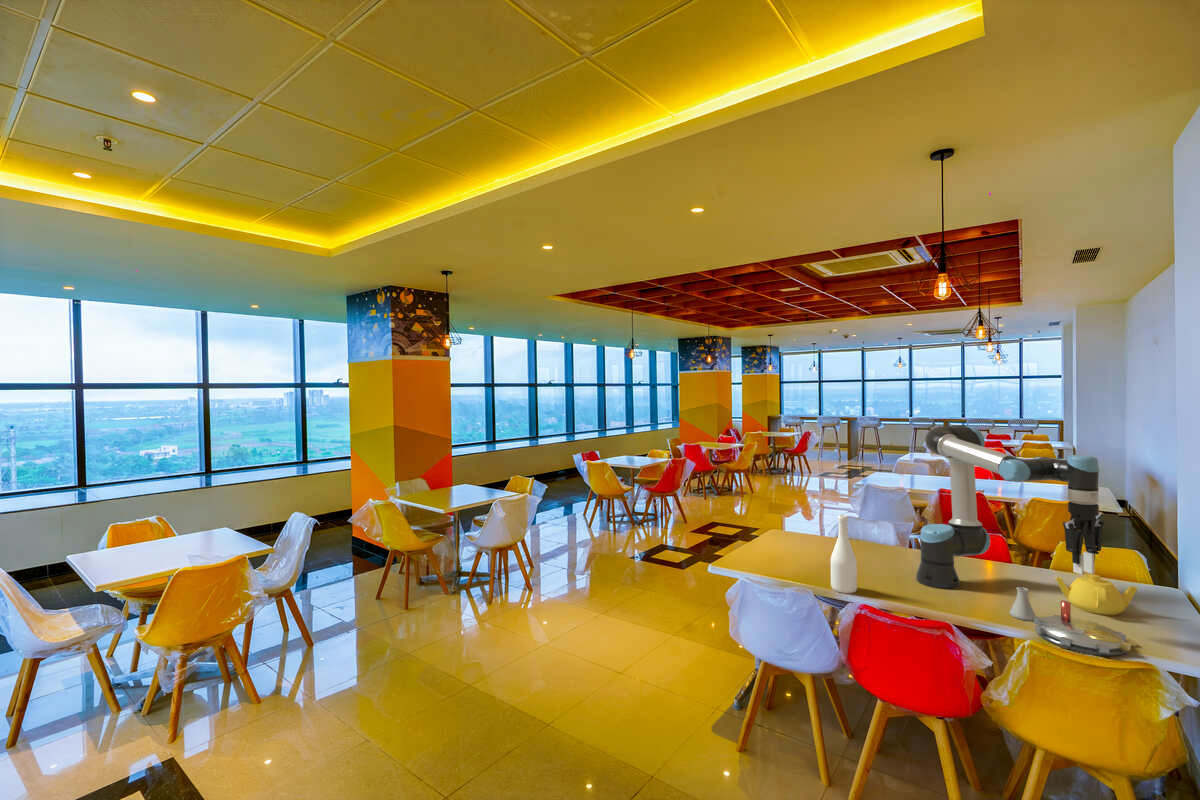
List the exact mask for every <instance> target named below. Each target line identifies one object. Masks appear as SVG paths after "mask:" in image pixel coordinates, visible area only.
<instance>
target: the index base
mask: <svg viewBox="0 0 1200 800" xmlns="http://www.w3.org/2000/svg"><path fill="white" fill-rule="evenodd" d="M1036 634H1037V635H1038V636H1039V637H1040V638H1042V639H1043V640H1044V641H1047V642H1048V643H1051V644H1053V645H1055V646H1058V647H1059V648H1060V647H1061V648H1063V649H1066V650H1069V651H1072V652H1073V651H1074V652H1076V653H1082V654H1084V655H1085V654H1086V655H1091V656H1099V657H1113V658H1114V657H1121V656H1123V655H1126V654H1127V651H1125V650H1119V651H1109V653H1100V652H1098V651H1096V650H1089V649H1084V648H1080V647H1075V646H1067V645H1064V644H1060V642H1059V641H1057V640H1054V639H1052V638H1050V637H1048V636H1046V635H1045V634H1039V633H1038V632H1036ZM1124 642H1128V643H1131V647H1134V648H1135V647H1136V648H1137V647H1138V642H1136V641H1135V640H1133V639H1132V638H1129V637H1126V641H1124Z"/></svg>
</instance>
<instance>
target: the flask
mask: <svg viewBox="0 0 1200 800" xmlns="http://www.w3.org/2000/svg"><path fill="white" fill-rule="evenodd" d="M1015 589H1016V590H1017V593H1016V598H1015V600H1014V603H1013V605H1012V606H1011V608H1010V610H1009V612H1008V614H1009V615H1010V616H1011V617H1013V618H1014V619H1015V618H1016V619H1019V620H1022V621H1029V622H1030V621H1031V622H1034V618H1035V617H1037V616H1036V613H1035V612H1034V609H1033V607H1032V605H1031V602H1030V600H1029V595H1028V594H1029V593H1028V592H1029V591H1030V590H1029V589H1028V588H1026V587H1021V586H1018V587H1016V588H1015Z"/></svg>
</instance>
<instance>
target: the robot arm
mask: <svg viewBox="0 0 1200 800" xmlns="http://www.w3.org/2000/svg"><path fill="white" fill-rule="evenodd" d="M985 444H986V441H985V438H984V435H983V433H982V432H981V431H980V430H979V429H978V428H977V427H974V426H972V425H963V424H962V425H946V426H945V425H941V426H936V427H933V428H931V429H930V430H928V432H927V433H926V436H925V445H926V447H927V449H928V450H929V451H930V452H932V453H934V454H936V455H939V456H941V457H944V458H945V459H946V460H947V461H948V462H949V474H950V475H949V476H950V492H951V493H950V496H951V513H952V516H951V517H952V518H951V519H950V520H948V524H945V523H938V524H937V523H931V524H930V523H929V524H926V525H923V526H922V527H921V529H920V536H919V538H920V563H919V566H918V568H917V571H916V574H915V575H916V576H915V577H916V578H915V579H916V581H917V582H918V583H920V584H923V585H924V586H928V587H931V588H938V589H946V590H948V589H949V590H950V589H952V590H953V589H957V588H959V587H960V578H959V576H958V573H957V570H956V568H955V557H967V556H970V557H972V556H977V555H982V554H985V553H986V552H987V551H988V550H989V548H990V546H991V537H990V534H989V533H988V531H987V530H986V529H985V528H984V527H983V523H982V522H980V521H979V520H978V509H977V508H978V505H977V491H976V473H975V472H976V471H975V469H976V468H975V466H977V467H979V468H982V469H984V470H988V471H990V472H993V473H996V474H998V475H1000V477H1001V478H1003V480H1005V481H1006V482H1012V483H1013V482H1014V483H1021V482H1035V481H1037V482H1038V481H1039V482H1042V481H1057V482H1058V481H1059V482H1063V483H1067V500H1068V503H1067V512H1068V513H1069V514H1070V519H1069V521H1067V522H1066V521H1063V522H1062V526H1063V528H1064V537H1065V538H1064V539H1065V540H1064V541H1065V550H1066V552H1069V553H1071V554H1072V555H1071V556H1072V558H1071V559H1072V560H1071V561H1072V563H1073V565H1072V566H1073V567H1072V568H1073V569H1072V570H1073V571H1072V572H1073V573H1074V574H1075V573H1076V574H1079V575H1083V576H1084V573H1091V574H1095V562H1096V555H1099V554H1100V552H1101V551H1102V541H1103V539H1102V538H1103V527H1104V525H1105V522H1104V521H1101V520H1098V518H1097V517H1098V516H1099V515H1100V506H1099V504H1098V503H1099V500H1100V499H1099V476H1100V475H1099V474H1100V469H1099V460H1098V458H1097V457H1095V456H1093V455H1084V454H1083V455H1082V454H1070V455H1069V456H1067V459H1060V458H1053V457H1047V456H1045V457H1043V456H1041V457H1040V456H1037V457H1034V458H1031V459H1030V458H1027V459H1025V458H1024V459H1023V458H1019V457H1016V456H1014V455H1013V456H1012V455H1010V454H1007V453H1005V452H1001V451H998V450H994V449H991V448H989V447H988V448H987V447H985ZM1083 543H1084V546H1085V547H1084V548H1085V551H1083ZM1082 551H1083V553H1082Z"/></svg>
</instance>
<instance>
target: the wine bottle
mask: <svg viewBox="0 0 1200 800" xmlns="http://www.w3.org/2000/svg"><path fill="white" fill-rule="evenodd" d="M837 516H838V517H837V521H838V535H837V536H838V537H837V539H836V542H835V545H834V548H833V551H832V553H831V556H830V587H831V588H832V590H833V591H836V592H838V593H842V594H854V593H856V592H857V589H858V573H857V571H858V569H857V565H858V563H857V559H856V556H855V553H854V550H853V548H852V545H851V542H850V539H849V533H848V531H849V530H848V529H849V527H848V521H849V517H848V515H846V514H838V515H837Z"/></svg>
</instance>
